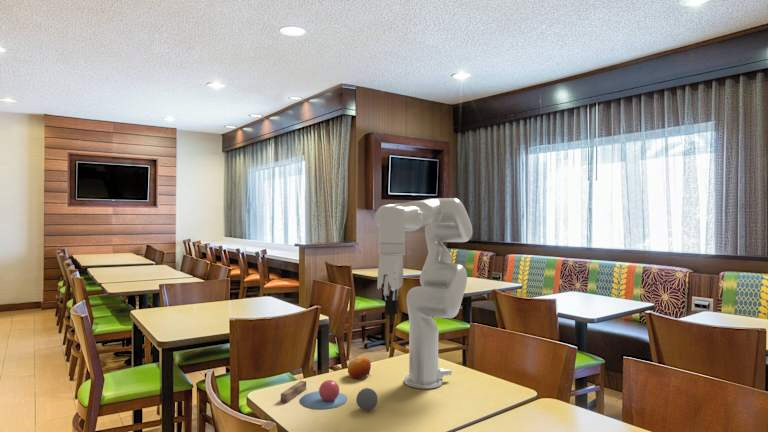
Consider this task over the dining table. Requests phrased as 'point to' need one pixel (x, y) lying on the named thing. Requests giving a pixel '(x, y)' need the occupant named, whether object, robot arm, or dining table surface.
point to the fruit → (359, 367)
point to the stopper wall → (293, 391)
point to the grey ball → (367, 399)
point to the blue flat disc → (321, 401)
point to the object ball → (329, 390)
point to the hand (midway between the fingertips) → (391, 313)
